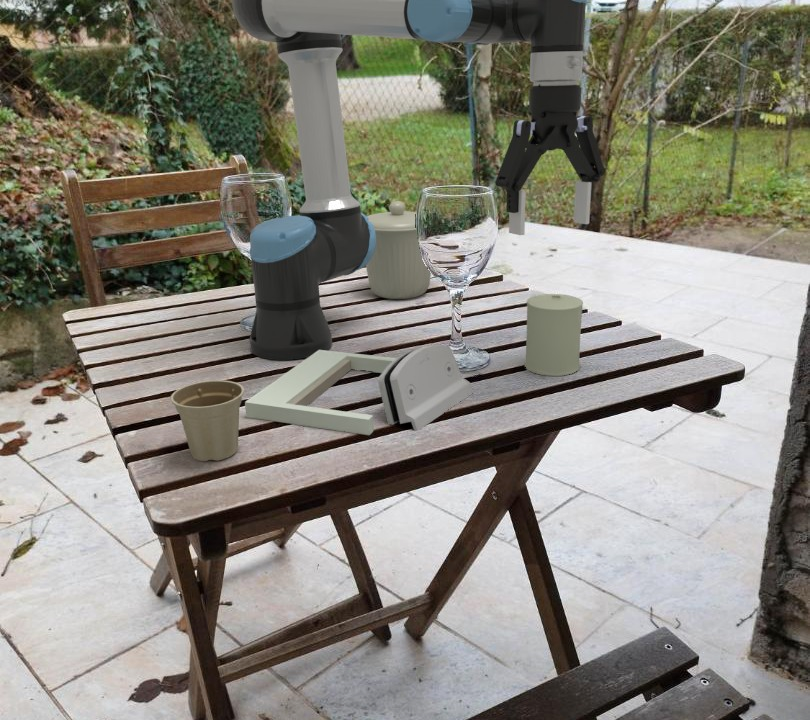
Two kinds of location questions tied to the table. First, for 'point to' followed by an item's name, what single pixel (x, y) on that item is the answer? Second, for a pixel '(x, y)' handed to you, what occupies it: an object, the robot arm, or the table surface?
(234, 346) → the table surface
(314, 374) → the beige flat angled piece
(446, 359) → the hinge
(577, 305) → the can
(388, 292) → the canister
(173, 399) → the flower pot
